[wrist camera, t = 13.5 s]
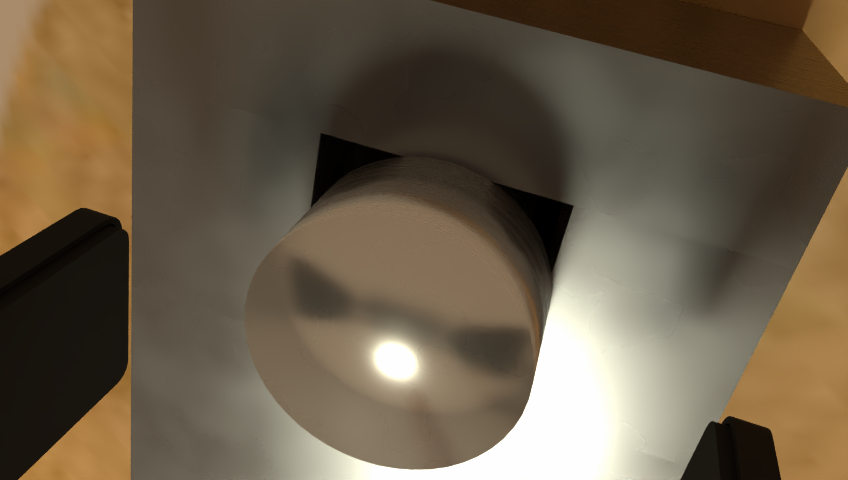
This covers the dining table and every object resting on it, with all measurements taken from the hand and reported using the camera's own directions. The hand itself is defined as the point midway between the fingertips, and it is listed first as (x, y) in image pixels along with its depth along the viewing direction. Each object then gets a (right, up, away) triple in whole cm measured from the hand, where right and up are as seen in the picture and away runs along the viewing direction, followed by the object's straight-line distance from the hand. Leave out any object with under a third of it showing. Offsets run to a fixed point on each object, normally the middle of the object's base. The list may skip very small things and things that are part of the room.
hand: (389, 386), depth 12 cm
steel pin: (+2, +4, +8) cm, 9 cm away
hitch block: (+1, -2, +11) cm, 11 cm away
